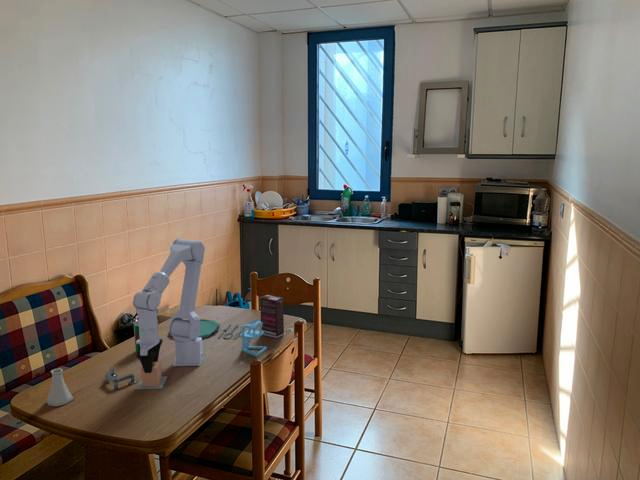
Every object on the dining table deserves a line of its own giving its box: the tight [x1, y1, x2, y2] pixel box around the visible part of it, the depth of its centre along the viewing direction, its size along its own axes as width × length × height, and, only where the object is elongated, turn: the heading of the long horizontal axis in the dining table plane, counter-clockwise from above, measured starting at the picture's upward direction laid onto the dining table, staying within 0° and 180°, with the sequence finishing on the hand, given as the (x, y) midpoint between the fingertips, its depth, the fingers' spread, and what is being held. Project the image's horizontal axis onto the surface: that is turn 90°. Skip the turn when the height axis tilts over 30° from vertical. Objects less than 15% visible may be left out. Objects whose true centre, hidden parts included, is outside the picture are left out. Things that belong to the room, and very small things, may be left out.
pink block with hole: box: [140, 361, 163, 386], centre depth 166 cm, size 5×5×6 cm
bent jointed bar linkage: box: [104, 367, 138, 390], centre depth 168 cm, size 10×11×3 cm
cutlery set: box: [168, 318, 245, 341], centre depth 211 cm, size 20×30×2 cm, turn 81°
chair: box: [239, 319, 268, 358], centre depth 191 cm, size 8×8×12 cm
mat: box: [135, 375, 168, 390], centre depth 167 cm, size 8×8×1 cm
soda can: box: [133, 319, 141, 353], centre depth 190 cm, size 5×5×12 cm
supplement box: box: [259, 294, 285, 339], centre depth 207 cm, size 9×5×16 cm, turn 58°
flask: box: [46, 367, 74, 408], centre depth 154 cm, size 7×7×10 cm
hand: (151, 367), depth 166 cm, fingers open, 7 cm apart
